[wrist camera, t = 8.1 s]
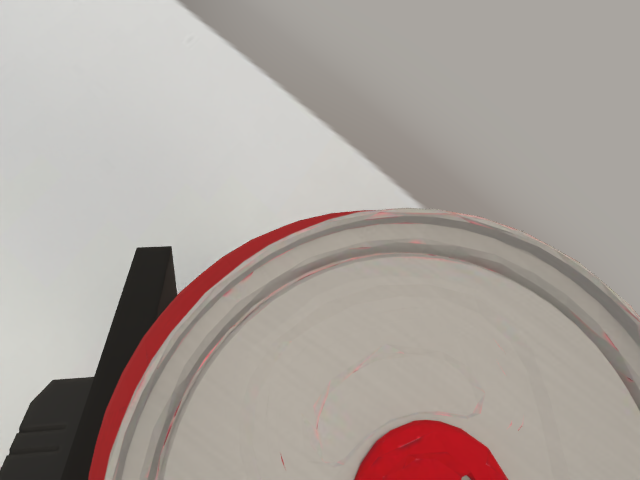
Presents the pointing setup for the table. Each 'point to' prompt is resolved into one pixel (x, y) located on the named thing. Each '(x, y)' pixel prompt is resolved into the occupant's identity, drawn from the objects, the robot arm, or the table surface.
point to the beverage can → (383, 361)
